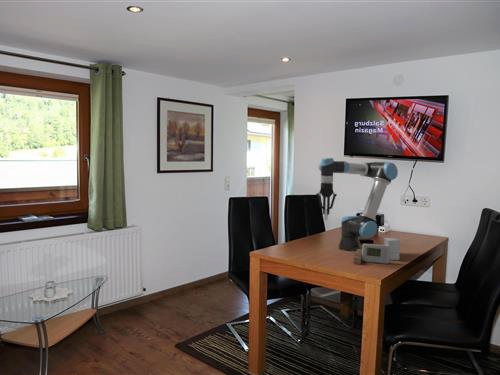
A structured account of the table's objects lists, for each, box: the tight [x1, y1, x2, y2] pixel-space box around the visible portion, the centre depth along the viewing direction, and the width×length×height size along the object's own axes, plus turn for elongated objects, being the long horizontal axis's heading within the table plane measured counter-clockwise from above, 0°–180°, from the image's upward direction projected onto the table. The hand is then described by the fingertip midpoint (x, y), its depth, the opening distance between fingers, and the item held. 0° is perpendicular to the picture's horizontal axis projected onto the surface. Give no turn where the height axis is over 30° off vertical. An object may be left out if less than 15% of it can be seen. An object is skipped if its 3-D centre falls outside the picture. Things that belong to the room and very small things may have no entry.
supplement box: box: [383, 237, 401, 261], centre depth 251 cm, size 7×7×13 cm
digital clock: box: [361, 243, 390, 265], centre depth 242 cm, size 16×9×11 cm, turn 56°
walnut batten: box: [353, 248, 363, 266], centre depth 248 cm, size 24×4×4 cm, turn 160°
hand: (325, 219), depth 250 cm, fingers closed
